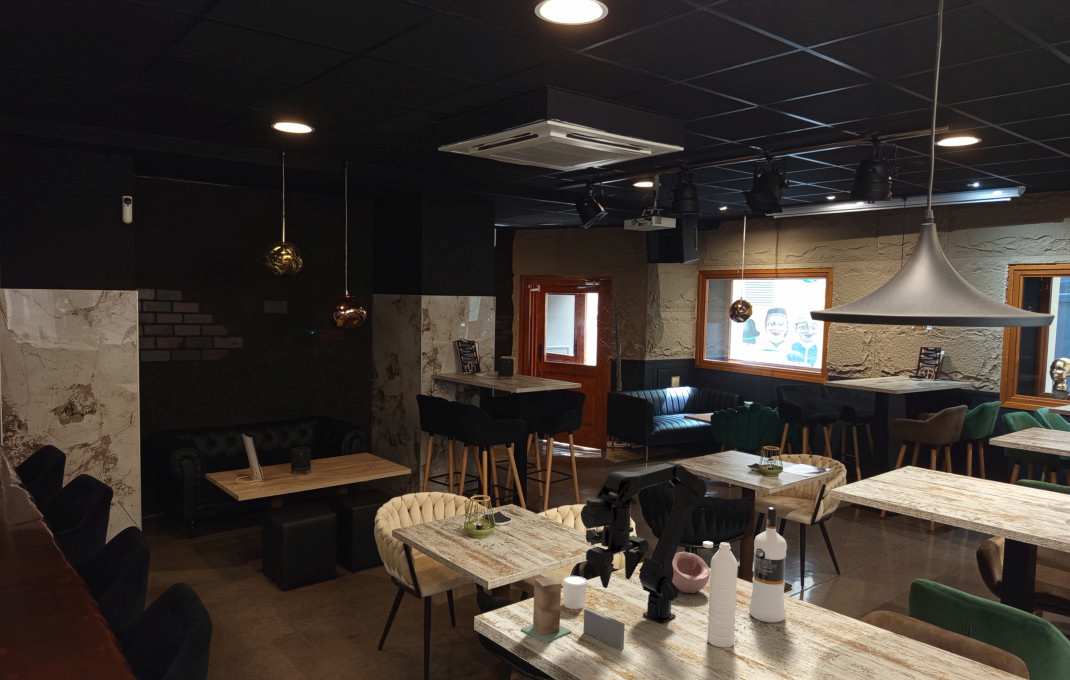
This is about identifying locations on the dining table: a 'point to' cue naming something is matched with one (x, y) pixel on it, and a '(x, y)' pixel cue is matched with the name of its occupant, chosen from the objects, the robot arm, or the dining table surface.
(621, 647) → the gray rectangular block
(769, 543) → the vodka
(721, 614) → the water bottle
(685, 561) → the pink rounded bowl
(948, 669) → the dining table surface
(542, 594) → the letter block
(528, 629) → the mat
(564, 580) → the white short cylinder
